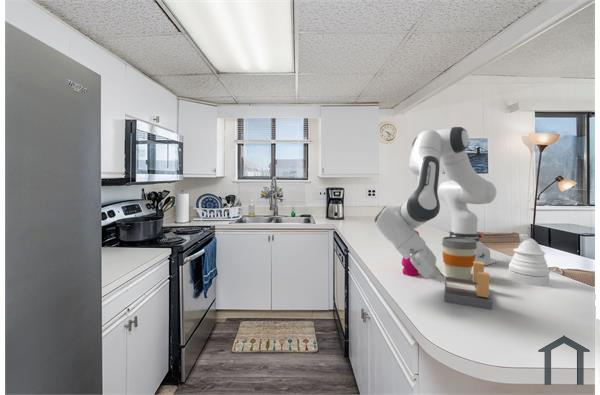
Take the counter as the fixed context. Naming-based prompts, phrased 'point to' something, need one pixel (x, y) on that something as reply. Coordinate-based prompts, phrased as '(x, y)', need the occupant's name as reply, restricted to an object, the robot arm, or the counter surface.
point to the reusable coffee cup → (458, 256)
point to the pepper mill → (409, 266)
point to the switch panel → (465, 293)
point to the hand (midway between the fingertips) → (442, 279)
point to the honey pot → (529, 264)
